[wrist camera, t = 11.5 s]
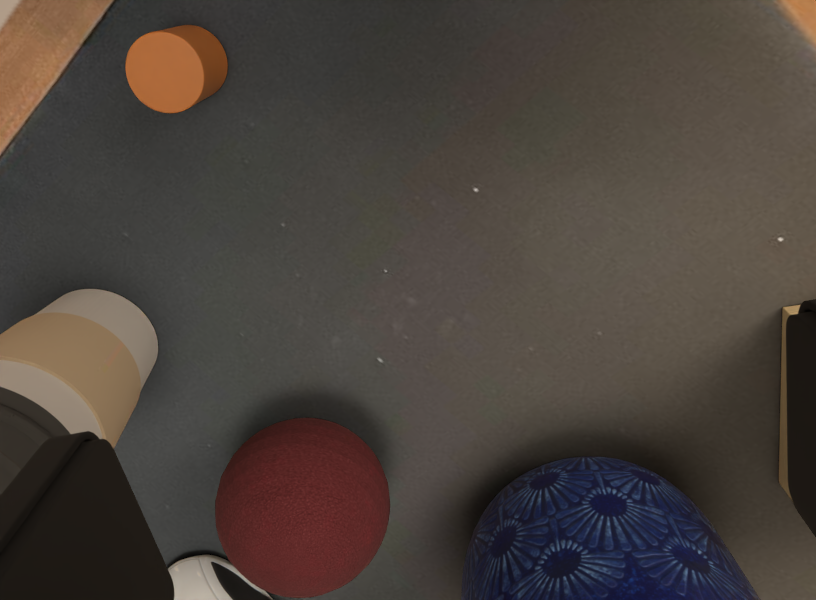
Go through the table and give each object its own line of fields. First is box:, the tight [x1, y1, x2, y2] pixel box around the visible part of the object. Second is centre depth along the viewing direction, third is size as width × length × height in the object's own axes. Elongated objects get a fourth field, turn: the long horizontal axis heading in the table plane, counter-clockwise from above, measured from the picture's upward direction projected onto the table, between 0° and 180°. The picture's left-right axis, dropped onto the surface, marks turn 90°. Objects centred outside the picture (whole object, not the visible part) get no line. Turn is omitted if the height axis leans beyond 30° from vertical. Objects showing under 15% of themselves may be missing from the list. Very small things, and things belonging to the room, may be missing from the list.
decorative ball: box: [215, 418, 390, 598], centre depth 43 cm, size 10×10×10 cm
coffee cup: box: [0, 289, 158, 495], centre depth 37 cm, size 9×9×15 cm
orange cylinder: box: [126, 25, 228, 113], centre depth 35 cm, size 4×4×4 cm
